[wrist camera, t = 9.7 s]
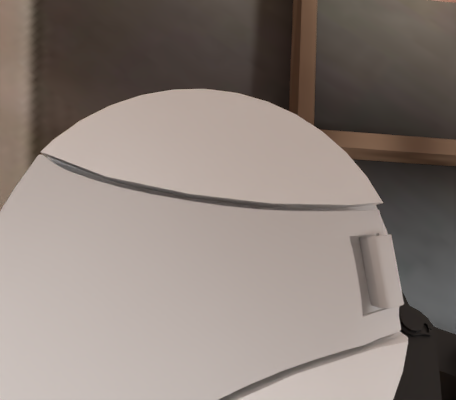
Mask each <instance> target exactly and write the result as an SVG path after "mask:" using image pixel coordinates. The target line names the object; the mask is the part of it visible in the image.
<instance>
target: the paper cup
mask: <svg viewBox="0 0 456 400" xmlns="http://www.w3.org/2000/svg"><path fill="white" fill-rule="evenodd" d="M41 153H42V154H44V155H45V156H44V155H38V156H37V157H36V159H35V160H34V161H33V163H32V164H31V166H30V167H29V168H28V170H27V171H26V173H25V174H24V175H23V177H22V178H21V180H20V181H19V182H18V184H17V185H16V187H15V188H14V189H13V191H12V193H11V194H10V196H9V198H8V199H7V201H6V203H5V204H4V206H3V207H2V209H1V211H0V400H393V399H394V396H395V393H396V390H397V387H398V384H399V381H400V378H401V376H402V373H403V368H404V362H405V357H406V352H407V346H408V337H407V336H406V335H404V334H403V333H402V332H400V330H401V325H400V319H399V306H401V305H403V304H404V301H403V295H402V290H401V285H400V279H399V274H398V269H397V263H396V258H395V252H394V247H393V242H392V236H391V235H388V233H387V230H386V228H385V225H384V223H383V221H382V218H381V216H380V211H379V210H378V209H377V207H376V205H378V204H381V203H383V202H382V200H381V199H380V197H379V195H378V194H377V192H376V190H375V189H374V187H373V186H372V184H371V182H370V181H369V179H368V178H367V176H366V175H365V174H364V173H363V172H362V170H361V169H360V168H359V167H358V166H357V164H356V163H355V162H354V161H353V160H352V159H351V157H350V156H349V155H348V154H347V153H346V152H345V151H344V150H343V149H342V148H341V147H340V146H338V145H337V144H336V143H335V142H334V141H333V140H332V139H330V138H329V137H328V136H327V135H326V134H325V133H324V132H322V131H321V130H319V129H318V128H316V127H315V126H313V125H312V124H310V123H308V122H307V121H305V120H304V119H302V118H301V117H299V116H298V115H296V114H294V113H292V112H290V111H287V110H285V109H283V108H281V107H278V106H276V105H274V104H272V103H270V102H267V101H264V100H260V99H257V98H253V97H250V96H246V95H243V94H239V93H234V92H226V91H218V90H211V89H175V90H167V91H162V92H156V93H150V94H145V95H140V96H137V97H134V98H131V99H128V100H125V101H122V102H119V103H116V104H113V105H110V106H108V107H106V108H104V109H102V110H100V111H98V112H96V113H94V114H92V115H90V116H88V117H86V118H84V119H82V120H80V121H79V122H77V123H76V124H75V125H73V126H72V127H70V128H69V129H67V130H66V131H65V132H63V133H62V134H60V135H59V136H58V137H56V138H55V139H53V140H52V141H51V142H50V143H49V144H48V145H47V146H46V147H45V148H44V149H43V150H42V151H41ZM46 156H47V157H46Z"/></svg>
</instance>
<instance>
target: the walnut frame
mask: <svg viewBox="0 0 456 400" xmlns="http://www.w3.org/2000/svg"><path fill="white" fill-rule="evenodd" d="M316 29H317V0H293V20H292V47H291V74H290V101H289V111H290V112H292V113H294V114H296V115H298V116H299V117H301V118H302V119H304V120H305V121H307V122H308V123H310V124H312V125H313V126H314V103H315V66H316ZM319 130H320V129H319ZM321 131H322V132H324V133H325V134H326V135H327V136H328V137H329V138H330V139H332V140H333V141H334V142H335V143H336V144H337V145H338V146H340V147H341V148H342V149H343V150H344V151H345V152H346V153H347V154H348V155H349V156H350V157H351V159H358V160H372V161H386V162H400V163H414V164H428V165H442V166H456V140H453V139H440V138H426V137H413V136H400V135H386V134H373V133H360V132H346V131H333V130H321Z"/></svg>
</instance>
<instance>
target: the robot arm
mask: <svg viewBox="0 0 456 400" xmlns="http://www.w3.org/2000/svg"><path fill="white" fill-rule="evenodd" d="M402 295H403V301H404V304H403V305H401V306H399V319H400V325H401V330H400V332H402V333H403V334H404V335H406V336H407V337H408V346H407V352H406V357H405V362H404V368H403V373H402V376H401V378H400V381H399V384H398V387H397V390H396V393H395V396H394V399H393V400H456V335H455V334H452V333H449V332H446V331H443V330H440V329H438V328H436V327H433V325H432V324H431V322H430V321H429V320H428V318H427V317H426V316H424V315H423V314H422V313H421V312H420V311H418V310H416V309H414V308H413V307H411V306H409V304H408V302H407V300H406V298H405V296H404V294H403V292H402Z"/></svg>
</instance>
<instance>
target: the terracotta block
mask: <svg viewBox="0 0 456 400" xmlns="http://www.w3.org/2000/svg"><path fill="white" fill-rule="evenodd" d="M433 1H444V2H455V3H456V0H433Z"/></svg>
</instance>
